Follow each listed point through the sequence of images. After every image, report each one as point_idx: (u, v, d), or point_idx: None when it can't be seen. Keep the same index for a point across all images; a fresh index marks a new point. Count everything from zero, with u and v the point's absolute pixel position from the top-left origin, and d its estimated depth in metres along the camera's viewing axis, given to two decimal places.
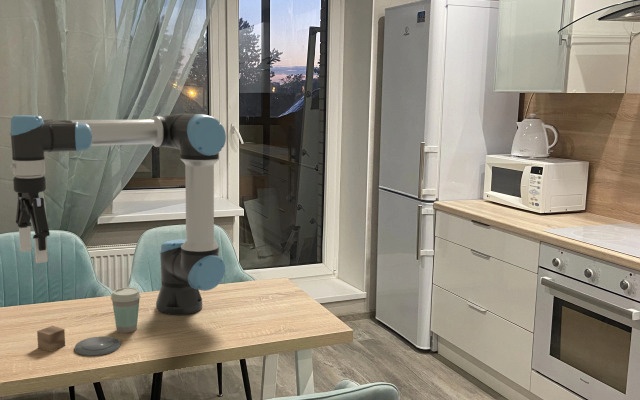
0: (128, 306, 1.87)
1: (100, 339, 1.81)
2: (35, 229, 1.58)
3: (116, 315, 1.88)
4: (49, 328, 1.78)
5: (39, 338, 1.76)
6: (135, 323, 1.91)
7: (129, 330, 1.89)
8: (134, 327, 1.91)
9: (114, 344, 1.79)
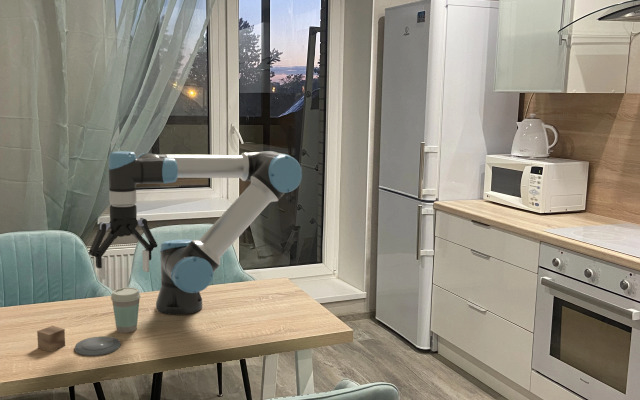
0: (128, 306, 1.87)
1: (100, 339, 1.81)
2: (98, 248, 1.84)
3: (116, 315, 1.88)
4: (49, 328, 1.78)
5: (39, 338, 1.76)
6: (135, 323, 1.91)
7: (129, 330, 1.89)
8: (134, 327, 1.91)
9: (114, 344, 1.79)
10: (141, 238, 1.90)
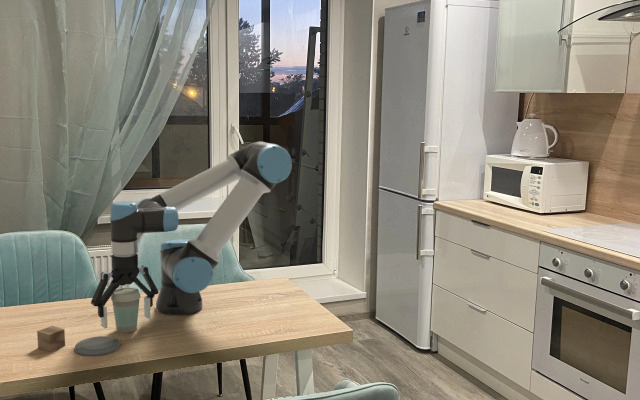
0: (127, 306, 1.87)
1: (100, 339, 1.81)
2: (100, 297, 1.86)
3: (116, 315, 1.88)
4: (49, 328, 1.78)
5: (39, 338, 1.76)
6: (135, 323, 1.91)
7: (129, 330, 1.89)
8: (134, 327, 1.91)
9: (114, 344, 1.79)
10: (142, 286, 1.92)
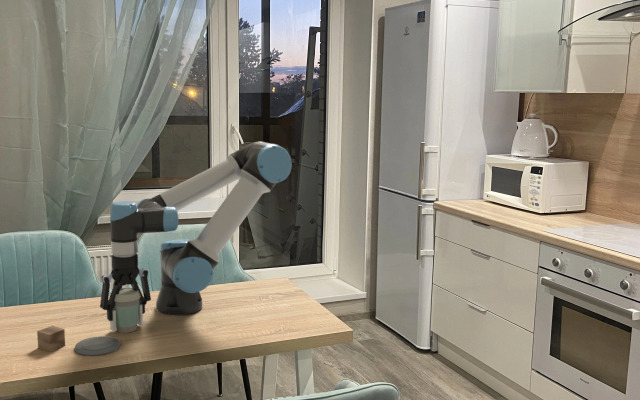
0: (128, 306, 1.87)
1: (100, 339, 1.81)
2: (108, 301, 1.88)
3: (116, 315, 1.88)
4: (49, 328, 1.78)
5: (39, 338, 1.76)
6: (135, 323, 1.91)
7: (129, 330, 1.89)
8: (134, 327, 1.91)
9: (114, 344, 1.79)
10: None
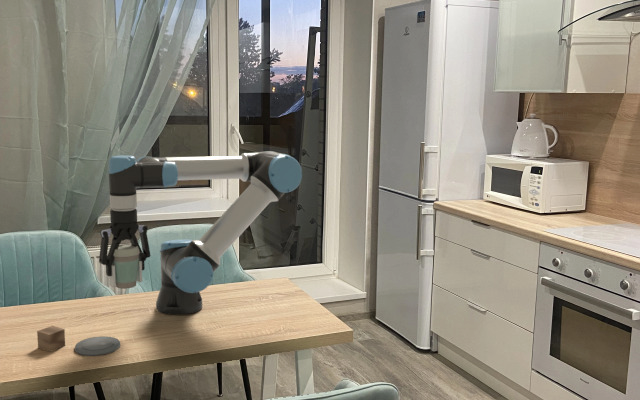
0: (127, 261, 1.85)
1: (100, 339, 1.81)
2: (107, 256, 1.86)
3: (115, 271, 1.86)
4: (49, 328, 1.78)
5: (39, 338, 1.76)
6: (135, 279, 1.88)
7: (128, 286, 1.87)
8: (133, 283, 1.88)
9: (114, 344, 1.79)
10: (137, 245, 1.89)
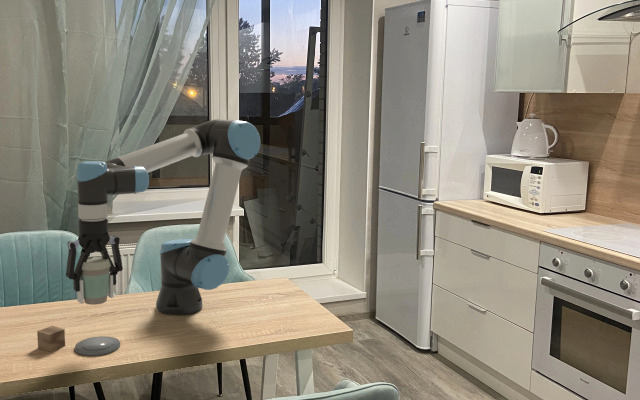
0: (96, 275, 1.71)
1: (100, 339, 1.81)
2: (75, 270, 1.72)
3: (83, 285, 1.72)
4: (49, 328, 1.78)
5: (39, 338, 1.76)
6: (105, 294, 1.75)
7: (98, 302, 1.73)
8: (103, 299, 1.75)
9: (114, 344, 1.79)
10: (108, 258, 1.75)
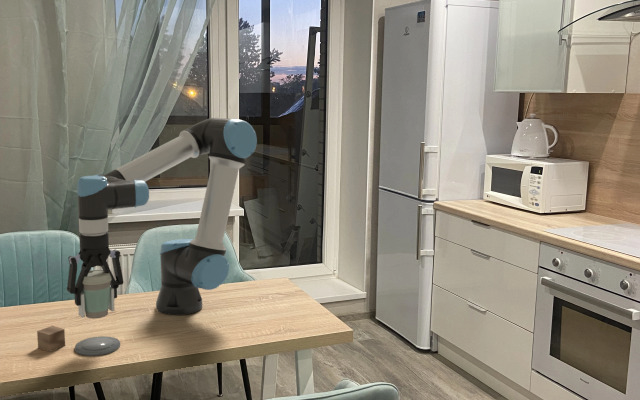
0: (97, 289, 1.72)
1: (100, 339, 1.81)
2: (76, 284, 1.73)
3: (85, 299, 1.73)
4: (49, 328, 1.78)
5: (39, 338, 1.76)
6: (106, 308, 1.75)
7: (99, 316, 1.74)
8: (105, 312, 1.75)
9: (114, 344, 1.79)
10: (109, 272, 1.76)
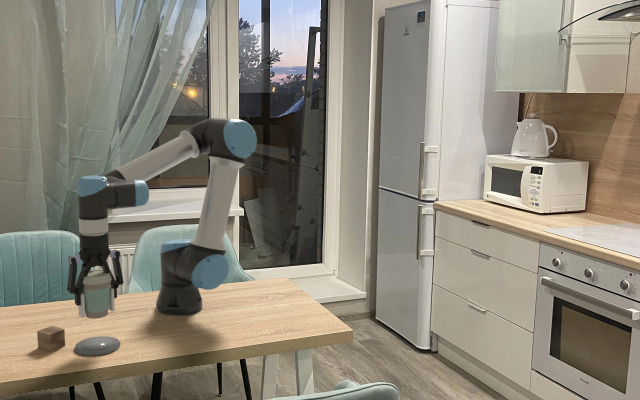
0: (97, 289, 1.72)
1: (100, 339, 1.81)
2: (76, 284, 1.73)
3: (85, 299, 1.73)
4: (49, 328, 1.78)
5: (39, 338, 1.76)
6: (106, 308, 1.75)
7: (99, 316, 1.74)
8: (105, 312, 1.75)
9: (114, 344, 1.79)
10: (109, 272, 1.76)
